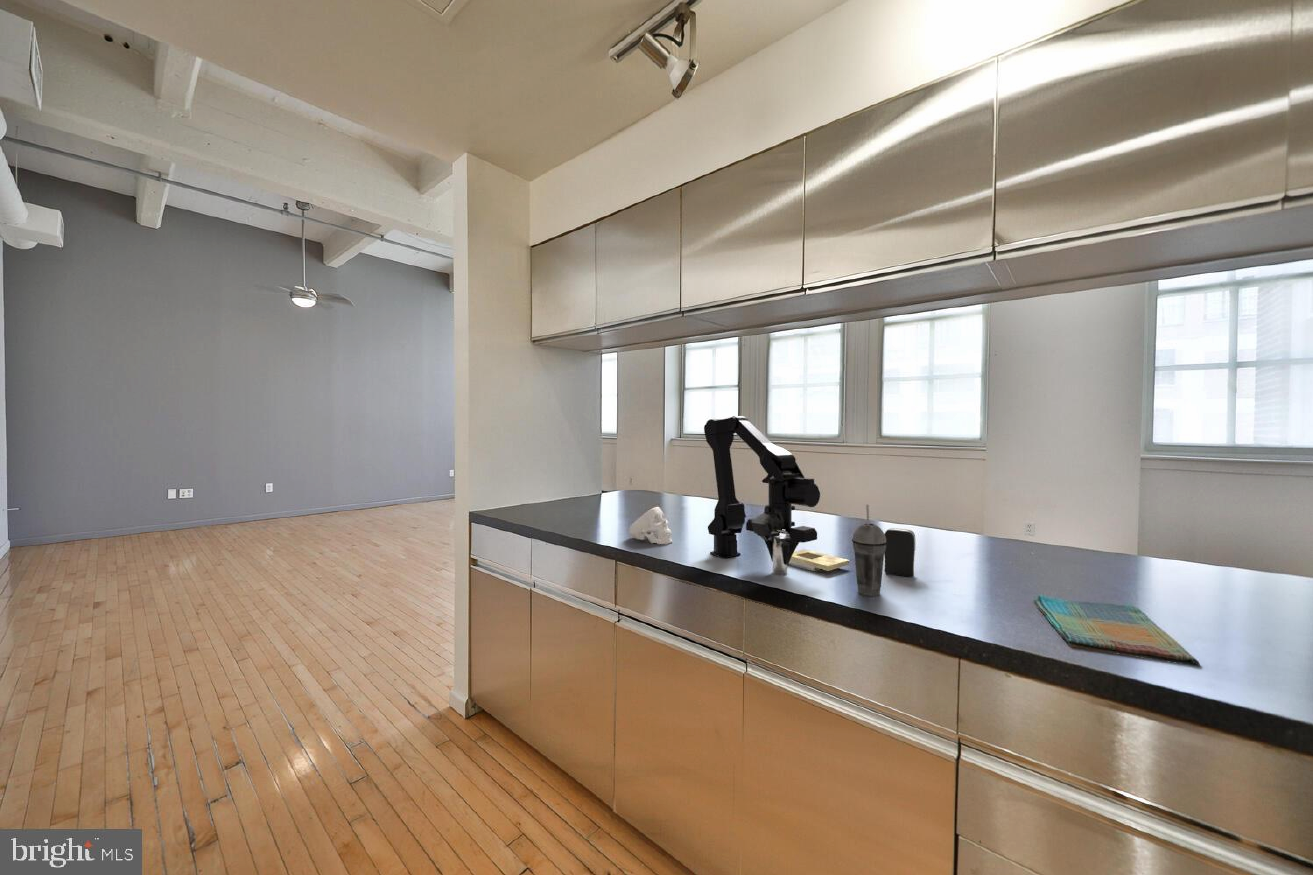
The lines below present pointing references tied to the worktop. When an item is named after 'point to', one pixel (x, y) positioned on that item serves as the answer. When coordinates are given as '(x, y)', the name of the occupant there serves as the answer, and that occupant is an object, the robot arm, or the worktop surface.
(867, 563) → the beverage cup
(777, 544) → the pin
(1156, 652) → the dish towel
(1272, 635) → the worktop surface
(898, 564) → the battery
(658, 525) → the skull bowl
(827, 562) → the cream inset tray
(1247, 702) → the worktop surface
